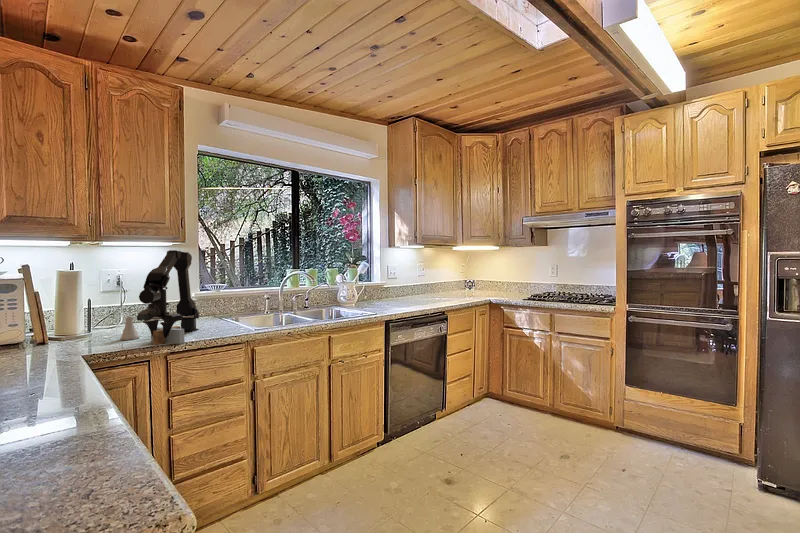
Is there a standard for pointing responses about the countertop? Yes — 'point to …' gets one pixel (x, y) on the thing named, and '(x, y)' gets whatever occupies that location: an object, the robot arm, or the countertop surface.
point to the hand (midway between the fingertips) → (159, 337)
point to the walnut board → (160, 336)
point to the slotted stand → (173, 336)
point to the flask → (129, 330)
